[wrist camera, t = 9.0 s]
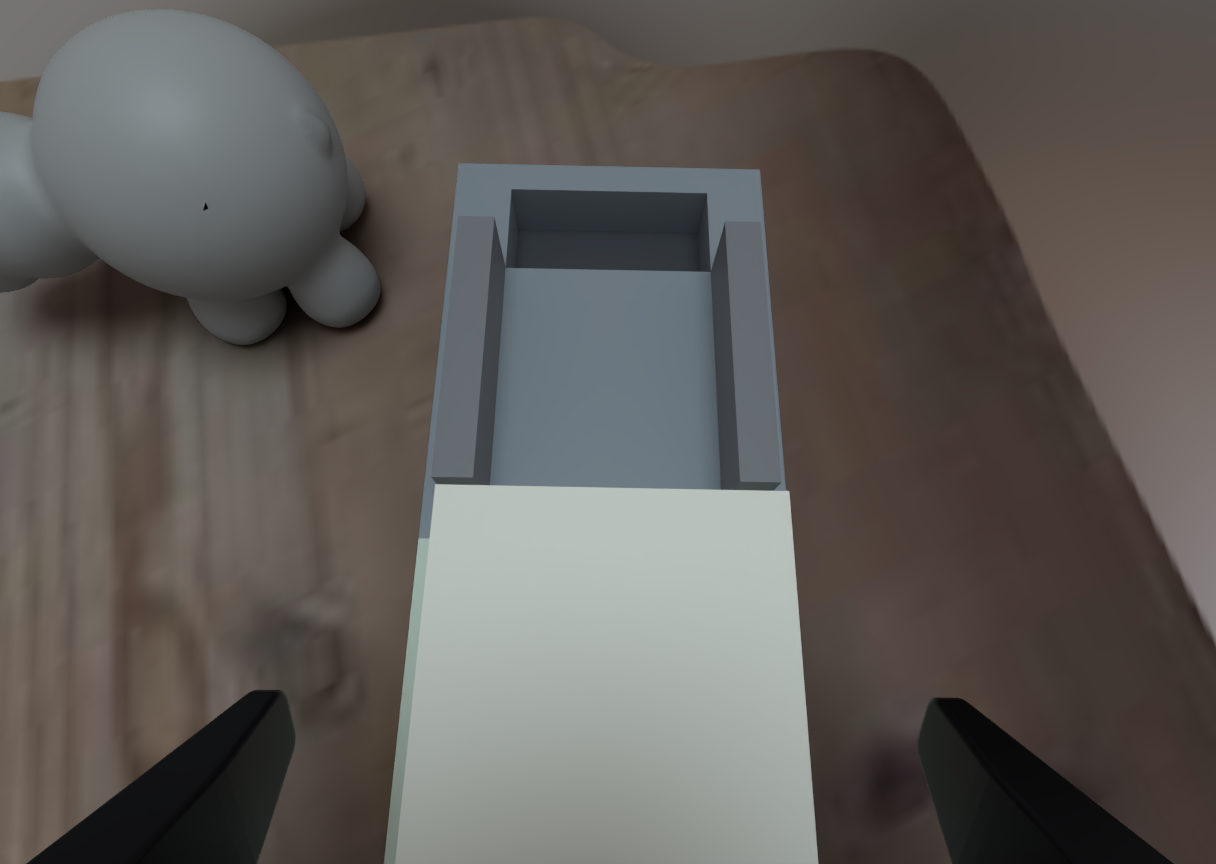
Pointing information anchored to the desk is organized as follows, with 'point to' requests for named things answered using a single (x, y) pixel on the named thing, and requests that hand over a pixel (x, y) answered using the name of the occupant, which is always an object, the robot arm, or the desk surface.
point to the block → (608, 681)
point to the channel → (599, 344)
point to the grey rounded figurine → (185, 176)
